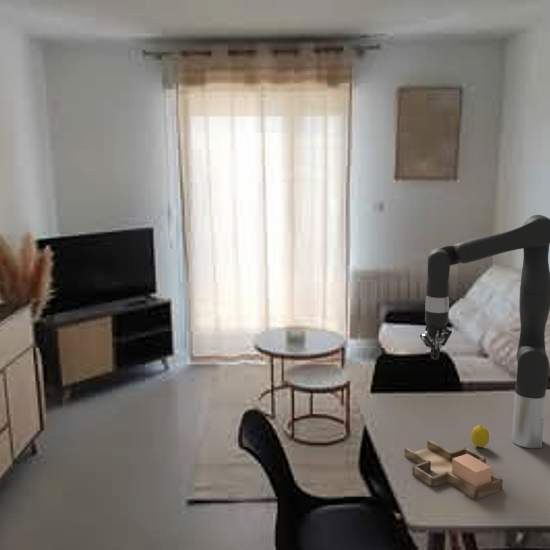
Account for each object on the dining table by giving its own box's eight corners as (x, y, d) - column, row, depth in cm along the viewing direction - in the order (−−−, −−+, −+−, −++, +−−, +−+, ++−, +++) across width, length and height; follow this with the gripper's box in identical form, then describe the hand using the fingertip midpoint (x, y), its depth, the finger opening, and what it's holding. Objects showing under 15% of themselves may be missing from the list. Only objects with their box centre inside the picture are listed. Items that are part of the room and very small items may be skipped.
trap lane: (390, 461, 187) (390, 452, 186) (441, 443, 198) (442, 435, 197) (461, 506, 162) (462, 496, 161) (515, 483, 173) (516, 474, 172)
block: (451, 480, 174) (452, 458, 173) (466, 475, 177) (467, 453, 176) (474, 495, 167) (475, 472, 165) (490, 489, 169) (491, 467, 168)
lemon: (479, 453, 191) (481, 430, 189) (467, 446, 196) (468, 423, 194) (492, 449, 193) (493, 426, 192) (479, 442, 198) (480, 420, 197)
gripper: (430, 314, 190) (428, 365, 194) (459, 308, 197) (457, 358, 200) (414, 309, 197) (412, 359, 200) (442, 304, 203) (441, 352, 207)
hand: (435, 358), depth 200 cm, fingers closed
